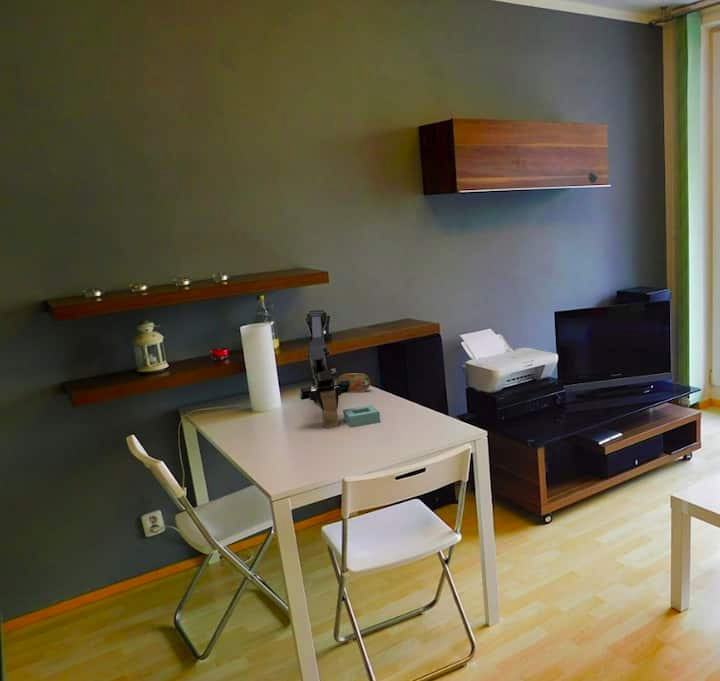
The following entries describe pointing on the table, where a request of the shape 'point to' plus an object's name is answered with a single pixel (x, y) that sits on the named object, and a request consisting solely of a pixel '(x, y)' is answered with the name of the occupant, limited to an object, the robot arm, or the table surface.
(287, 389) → the table surface
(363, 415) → the rectangular frame
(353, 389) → the tin
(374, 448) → the table surface
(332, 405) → the slat
